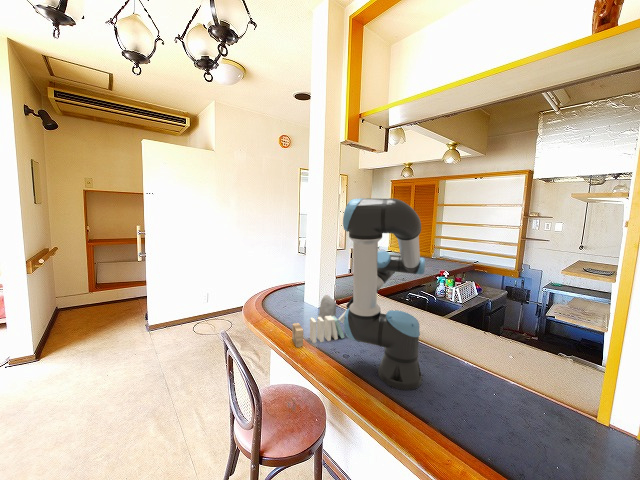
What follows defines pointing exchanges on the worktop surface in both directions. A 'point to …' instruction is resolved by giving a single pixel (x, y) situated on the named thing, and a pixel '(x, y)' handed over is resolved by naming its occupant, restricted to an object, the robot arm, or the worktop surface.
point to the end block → (297, 334)
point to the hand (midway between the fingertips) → (340, 321)
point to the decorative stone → (327, 307)
